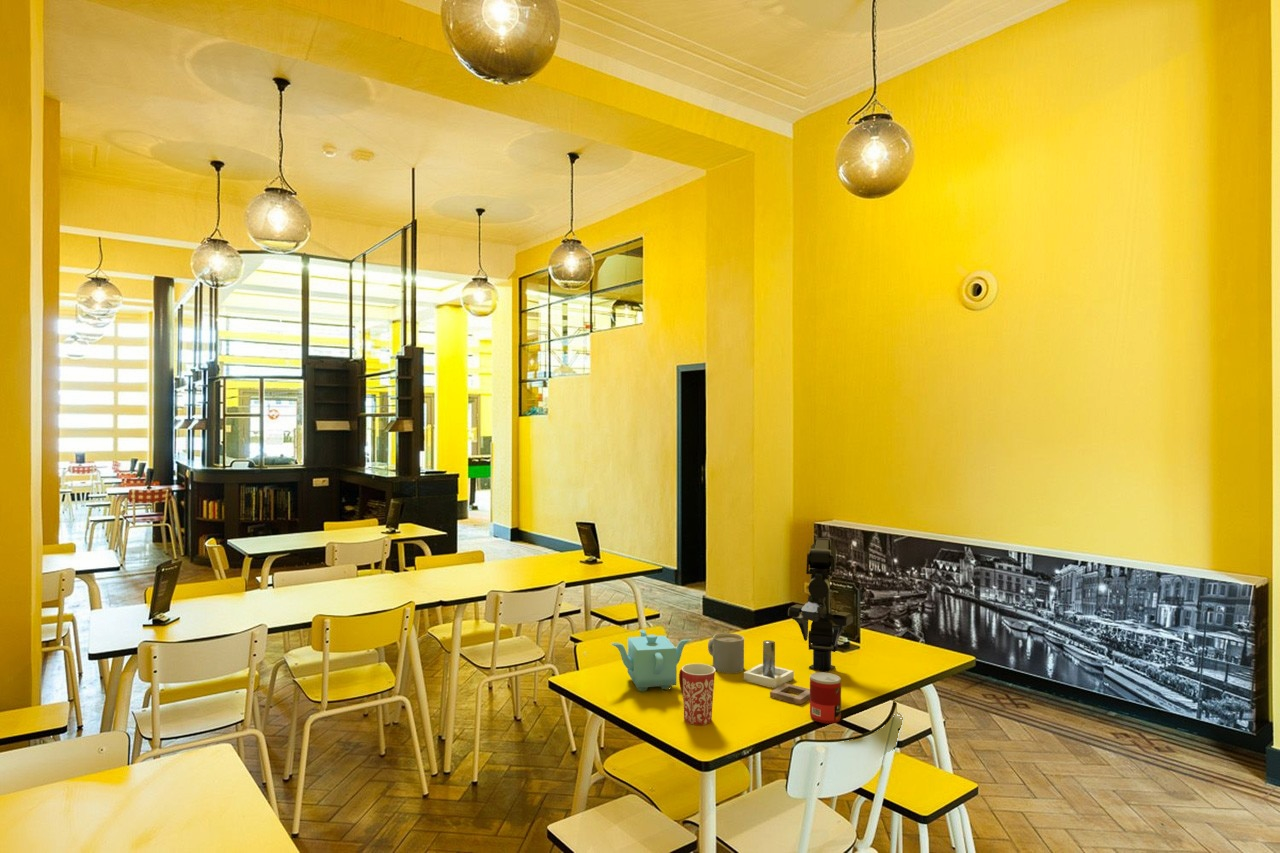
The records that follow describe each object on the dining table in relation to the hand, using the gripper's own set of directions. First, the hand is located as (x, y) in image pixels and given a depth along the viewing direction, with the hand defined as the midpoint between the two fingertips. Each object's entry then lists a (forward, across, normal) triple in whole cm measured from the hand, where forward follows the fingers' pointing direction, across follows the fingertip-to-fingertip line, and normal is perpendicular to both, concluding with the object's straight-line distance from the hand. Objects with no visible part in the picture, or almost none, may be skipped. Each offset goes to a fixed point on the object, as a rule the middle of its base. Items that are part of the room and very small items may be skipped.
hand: (819, 643), depth 212 cm
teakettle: (+13, -40, -32) cm, 53 cm away
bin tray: (+12, -14, -6) cm, 20 cm away
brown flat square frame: (+12, -2, -14) cm, 19 cm away
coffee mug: (+13, -31, -4) cm, 34 cm away
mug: (+13, -15, -45) cm, 49 cm away
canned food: (+13, +12, -23) cm, 29 cm away
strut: (+12, -14, -6) cm, 19 cm away
